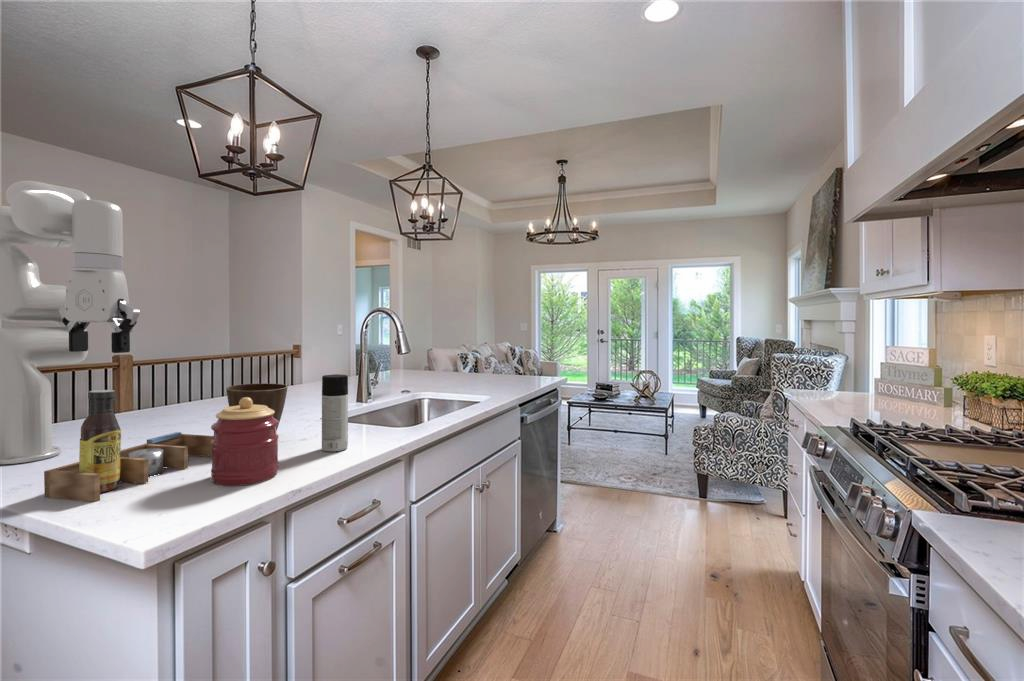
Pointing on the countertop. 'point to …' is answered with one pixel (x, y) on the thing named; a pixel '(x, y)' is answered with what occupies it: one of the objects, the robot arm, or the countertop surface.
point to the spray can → (334, 412)
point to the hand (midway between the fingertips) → (99, 351)
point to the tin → (151, 459)
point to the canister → (244, 444)
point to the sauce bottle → (101, 440)
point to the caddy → (125, 466)
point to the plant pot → (260, 396)
